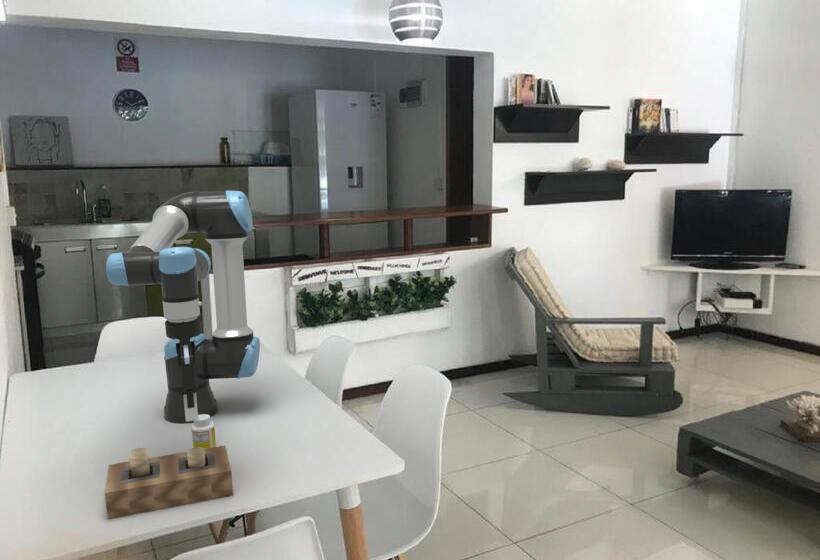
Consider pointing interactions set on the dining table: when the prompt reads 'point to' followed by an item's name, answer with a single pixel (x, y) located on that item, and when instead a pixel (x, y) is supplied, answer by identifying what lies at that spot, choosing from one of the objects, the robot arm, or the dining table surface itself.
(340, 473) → the dining table surface
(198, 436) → the supplement bottle
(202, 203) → the robot arm
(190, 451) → the short peg
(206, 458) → the socket block
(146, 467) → the beige round peg
